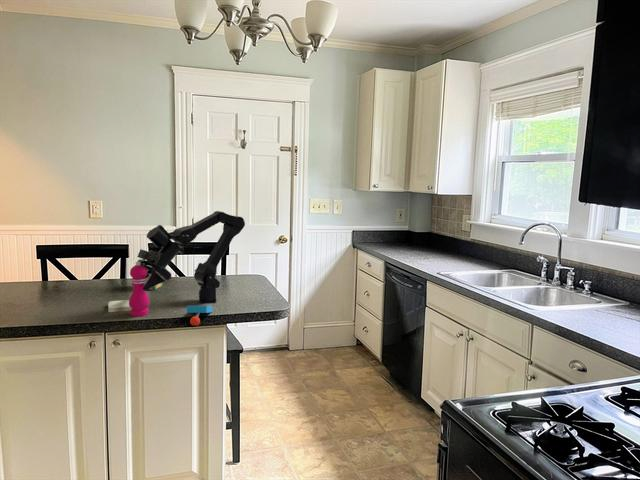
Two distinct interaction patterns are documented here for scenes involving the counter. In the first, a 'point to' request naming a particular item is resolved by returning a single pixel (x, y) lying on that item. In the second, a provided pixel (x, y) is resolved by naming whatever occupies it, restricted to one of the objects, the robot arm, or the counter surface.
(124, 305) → the plinth
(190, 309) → the lever
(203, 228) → the robot arm
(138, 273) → the pepper mill
